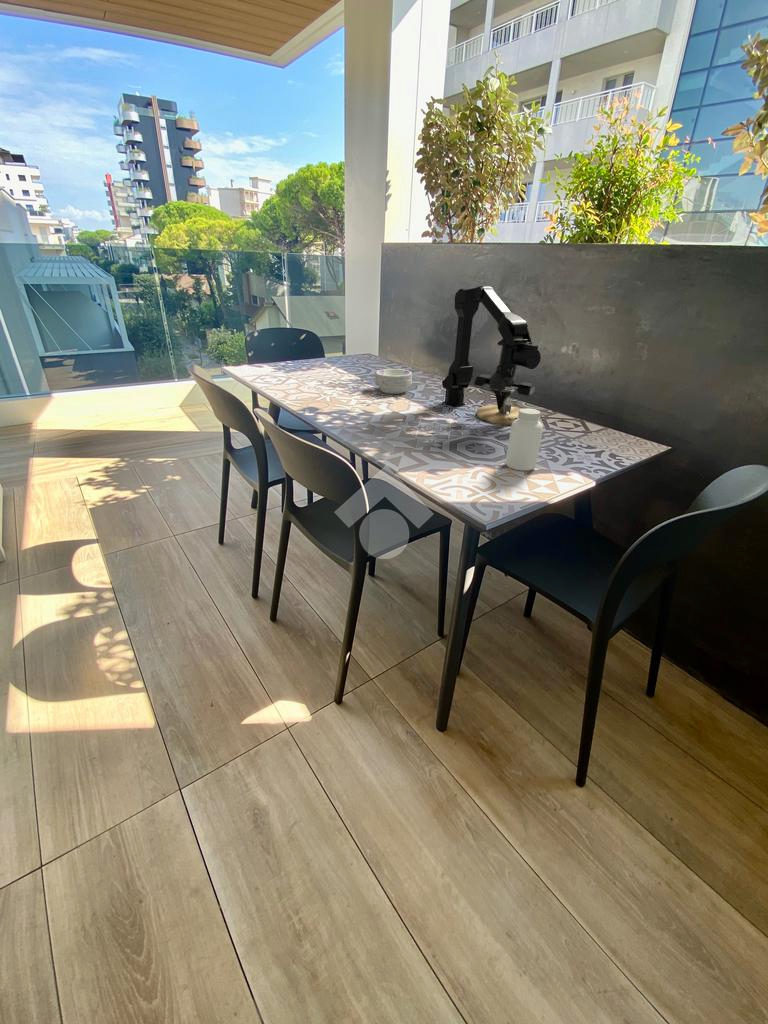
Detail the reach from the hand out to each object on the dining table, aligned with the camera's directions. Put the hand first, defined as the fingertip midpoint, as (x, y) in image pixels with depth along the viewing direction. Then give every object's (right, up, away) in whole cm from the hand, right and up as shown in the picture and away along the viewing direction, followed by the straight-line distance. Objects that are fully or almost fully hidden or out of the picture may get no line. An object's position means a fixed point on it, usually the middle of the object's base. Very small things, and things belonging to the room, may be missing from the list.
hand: (499, 410), depth 151 cm
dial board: (+4, 0, +9) cm, 10 cm away
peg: (+3, -1, +3) cm, 5 cm away
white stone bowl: (-35, +16, +36) cm, 53 cm away
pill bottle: (-2, -22, -30) cm, 37 cm away
